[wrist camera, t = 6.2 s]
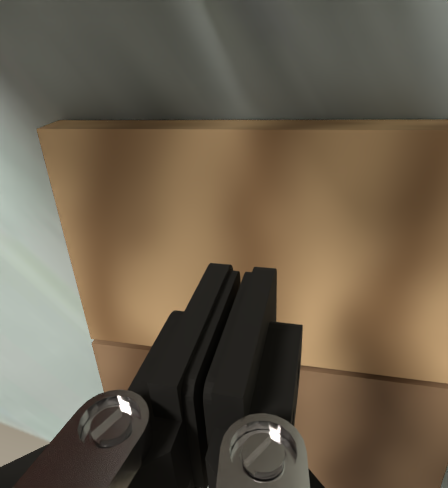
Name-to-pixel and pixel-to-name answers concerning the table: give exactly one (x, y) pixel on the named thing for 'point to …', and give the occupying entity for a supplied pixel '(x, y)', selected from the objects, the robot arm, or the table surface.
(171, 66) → the table surface
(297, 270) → the oak plank
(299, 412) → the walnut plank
